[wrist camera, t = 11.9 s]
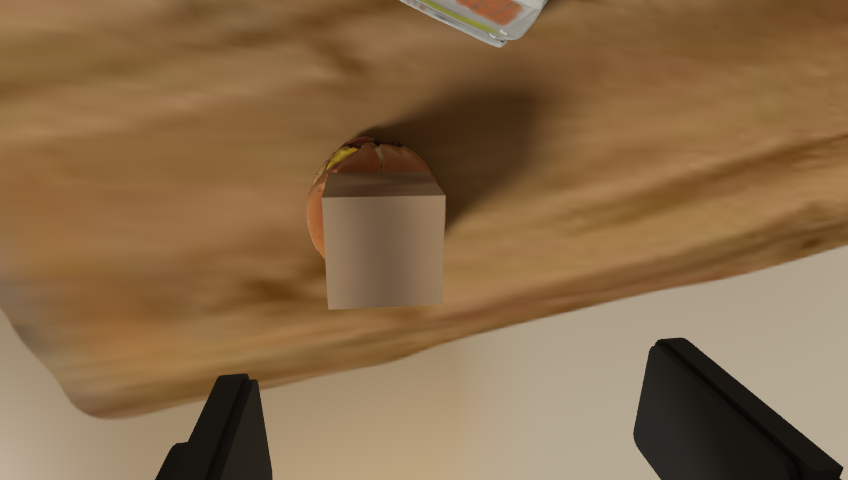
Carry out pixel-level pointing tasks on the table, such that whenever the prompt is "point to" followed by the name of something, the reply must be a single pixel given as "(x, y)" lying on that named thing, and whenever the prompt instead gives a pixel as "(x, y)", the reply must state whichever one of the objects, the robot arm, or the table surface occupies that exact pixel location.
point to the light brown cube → (383, 239)
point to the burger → (358, 158)
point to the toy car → (484, 16)
